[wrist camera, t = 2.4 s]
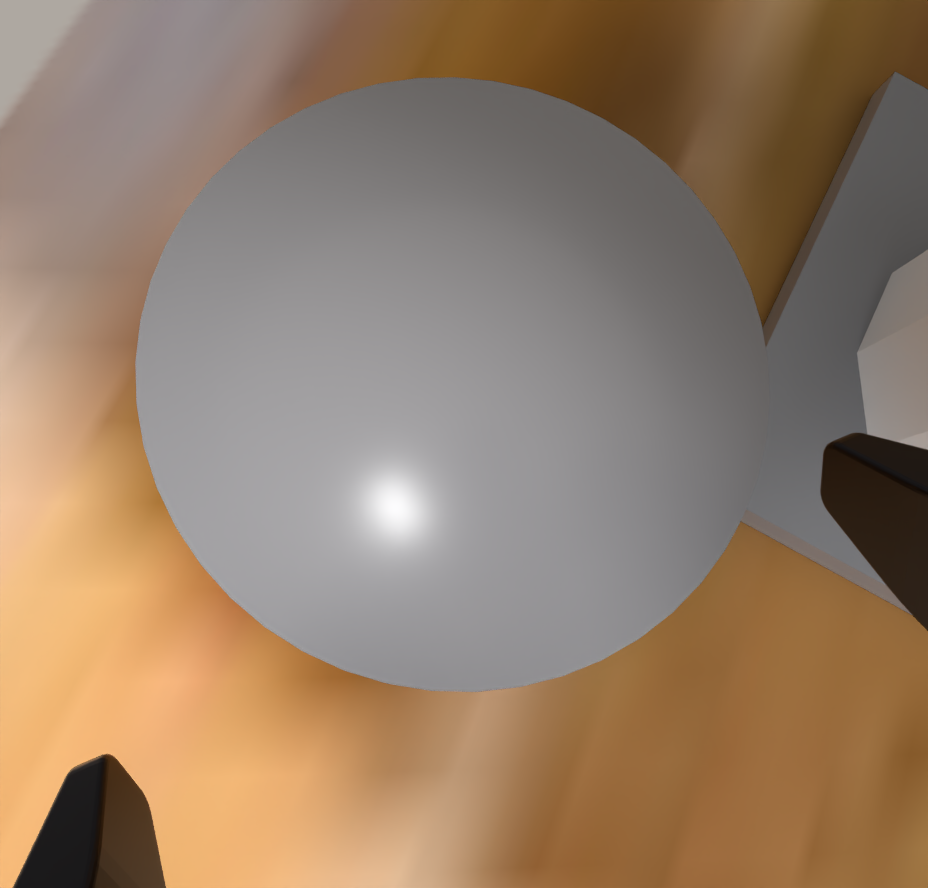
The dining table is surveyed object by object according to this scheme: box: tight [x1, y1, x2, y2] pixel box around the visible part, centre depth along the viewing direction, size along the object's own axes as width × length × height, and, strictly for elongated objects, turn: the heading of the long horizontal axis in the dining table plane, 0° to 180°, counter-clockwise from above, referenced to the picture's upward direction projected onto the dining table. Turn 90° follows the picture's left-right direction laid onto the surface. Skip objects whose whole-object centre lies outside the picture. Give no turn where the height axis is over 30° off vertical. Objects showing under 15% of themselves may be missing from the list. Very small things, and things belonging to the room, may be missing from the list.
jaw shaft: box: [136, 78, 770, 692], centre depth 13 cm, size 5×5×13 cm
